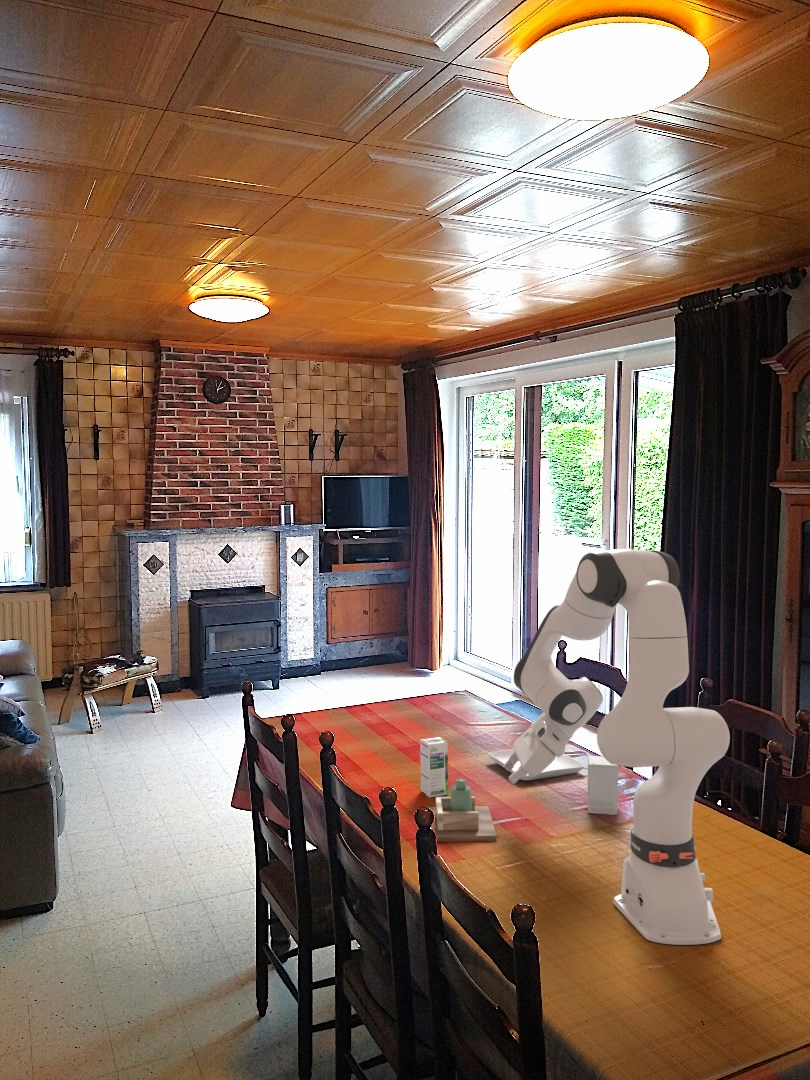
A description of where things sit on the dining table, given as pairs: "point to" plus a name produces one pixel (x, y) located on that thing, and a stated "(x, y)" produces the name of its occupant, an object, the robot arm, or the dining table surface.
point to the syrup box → (434, 766)
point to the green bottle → (461, 796)
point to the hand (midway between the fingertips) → (508, 774)
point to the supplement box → (602, 786)
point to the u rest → (462, 822)
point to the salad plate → (556, 768)
